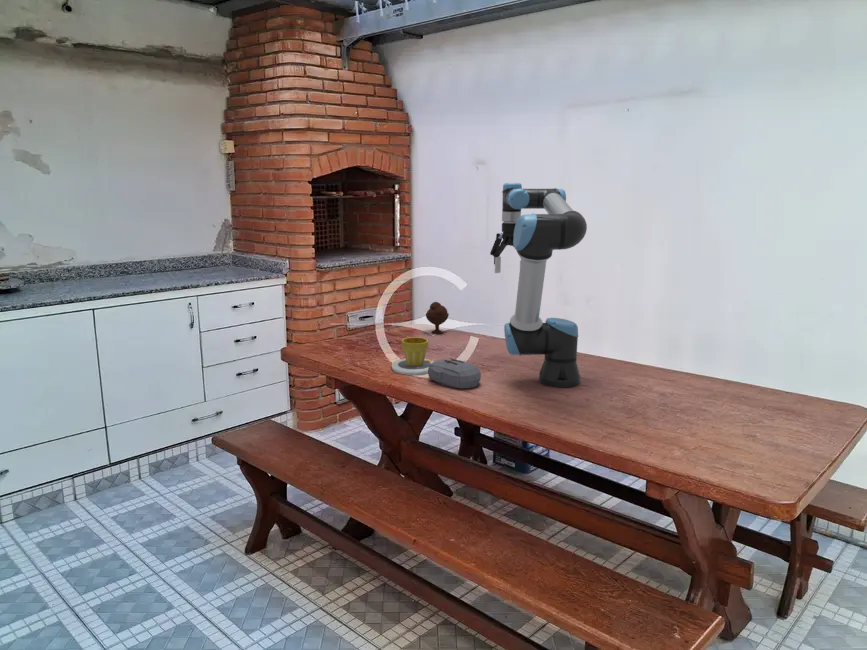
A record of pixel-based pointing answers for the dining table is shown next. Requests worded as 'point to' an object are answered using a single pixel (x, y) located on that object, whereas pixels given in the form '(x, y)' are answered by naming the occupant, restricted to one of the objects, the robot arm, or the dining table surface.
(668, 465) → the dining table surface
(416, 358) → the plant pot
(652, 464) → the dining table surface
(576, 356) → the robot arm
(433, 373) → the soft grey pack
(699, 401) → the dining table surface
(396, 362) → the base
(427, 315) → the ice cream bowl
